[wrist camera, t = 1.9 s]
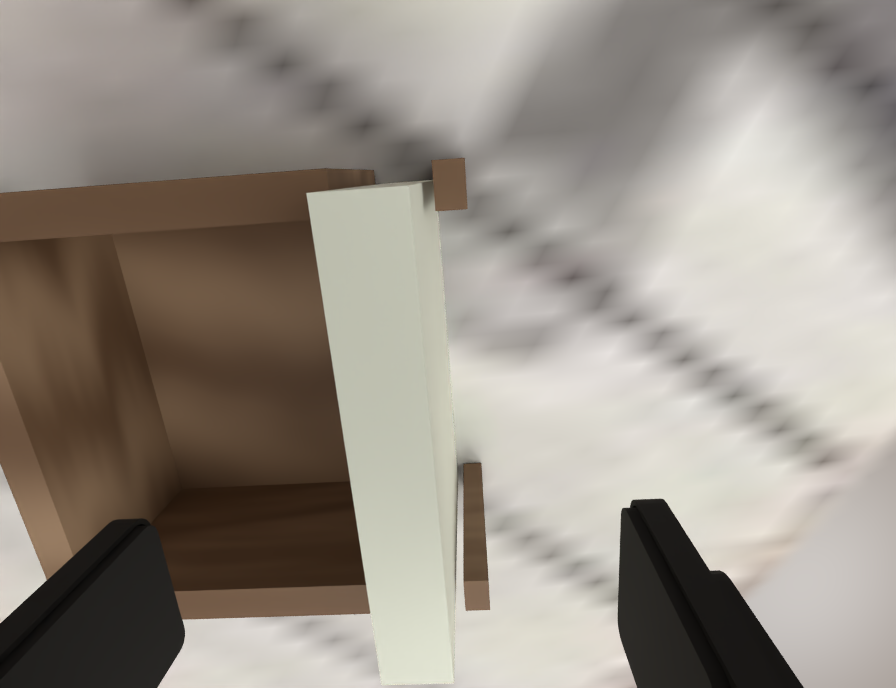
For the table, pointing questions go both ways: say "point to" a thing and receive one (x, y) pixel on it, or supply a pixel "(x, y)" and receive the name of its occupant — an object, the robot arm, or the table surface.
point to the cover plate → (395, 413)
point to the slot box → (191, 387)
